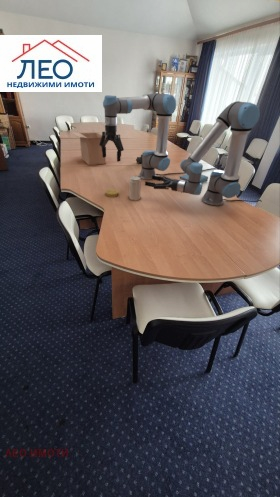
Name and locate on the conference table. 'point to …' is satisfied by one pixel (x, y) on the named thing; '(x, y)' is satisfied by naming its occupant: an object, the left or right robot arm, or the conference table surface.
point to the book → (185, 177)
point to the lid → (111, 193)
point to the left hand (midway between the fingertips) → (111, 159)
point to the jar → (134, 188)
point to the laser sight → (139, 159)
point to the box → (91, 147)
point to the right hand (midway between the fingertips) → (148, 180)
